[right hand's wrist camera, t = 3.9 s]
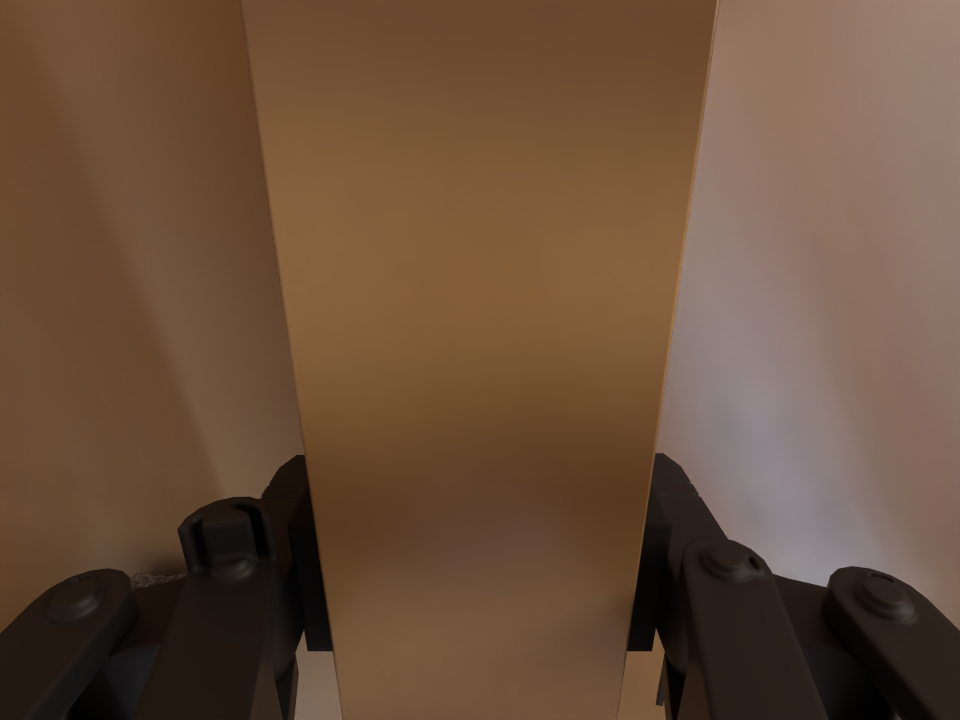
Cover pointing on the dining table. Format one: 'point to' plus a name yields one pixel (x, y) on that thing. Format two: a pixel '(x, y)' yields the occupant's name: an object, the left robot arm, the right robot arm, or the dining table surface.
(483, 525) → the bar
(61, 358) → the dining table surface
